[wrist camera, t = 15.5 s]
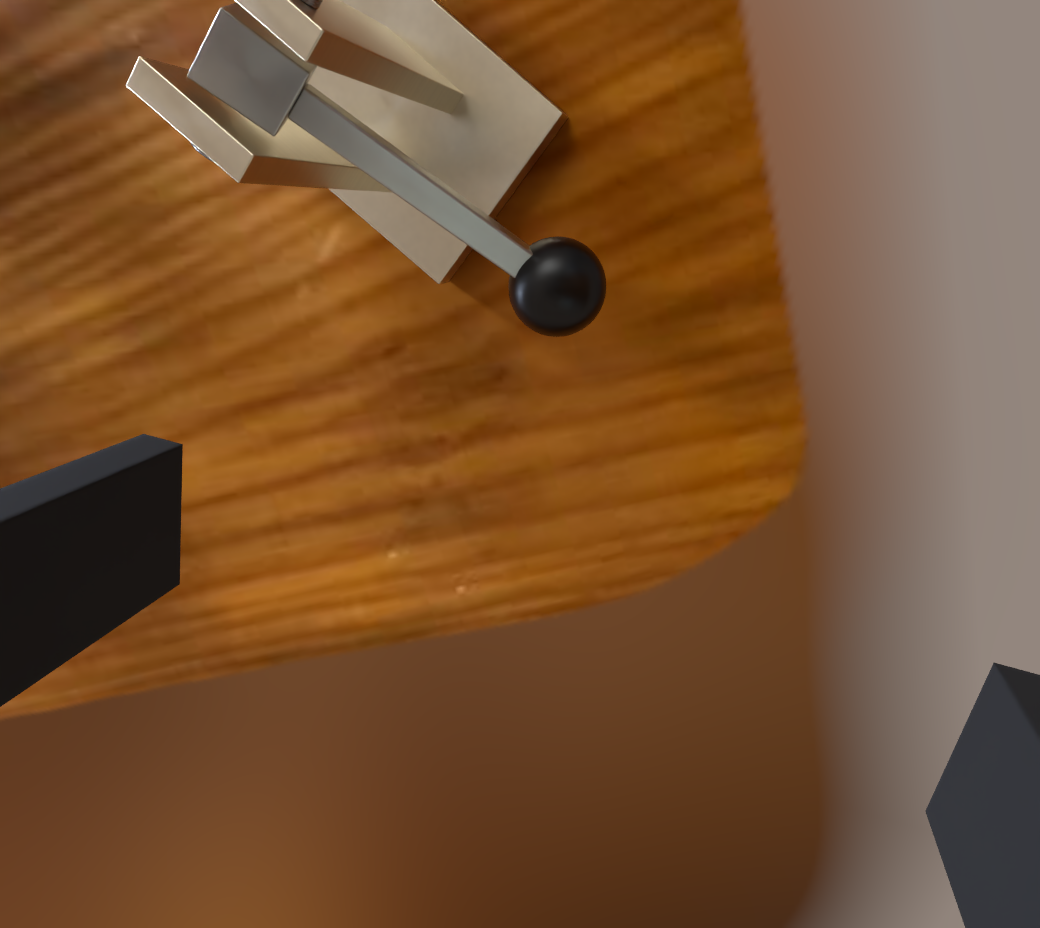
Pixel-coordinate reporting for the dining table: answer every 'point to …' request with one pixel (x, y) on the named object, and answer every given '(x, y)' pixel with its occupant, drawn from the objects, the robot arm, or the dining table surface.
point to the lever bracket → (378, 114)
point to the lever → (394, 171)
